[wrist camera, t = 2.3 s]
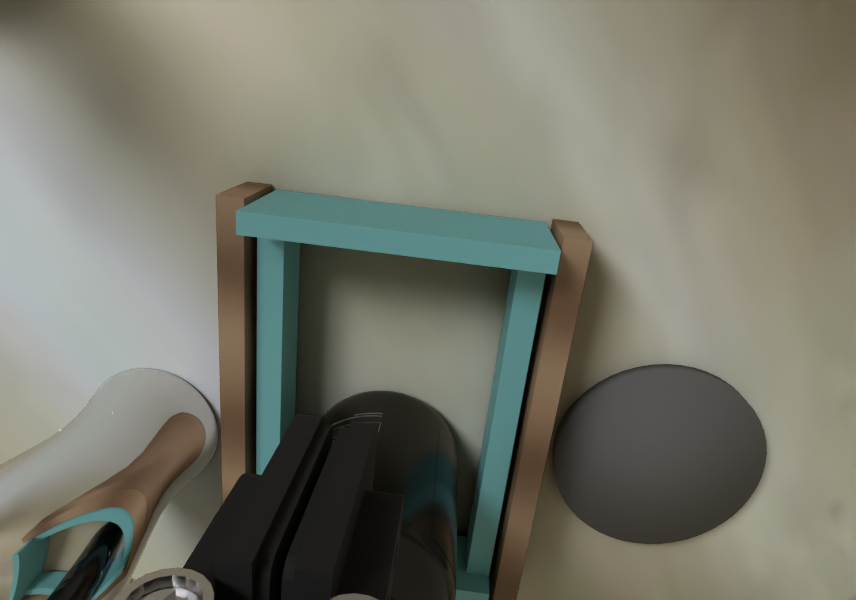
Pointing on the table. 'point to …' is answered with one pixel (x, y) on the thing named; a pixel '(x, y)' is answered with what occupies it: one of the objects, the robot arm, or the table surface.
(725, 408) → the coaster
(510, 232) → the teal drawer
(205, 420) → the beer glass
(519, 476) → the walnut cubby
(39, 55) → the table surface
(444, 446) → the supplement bottle
